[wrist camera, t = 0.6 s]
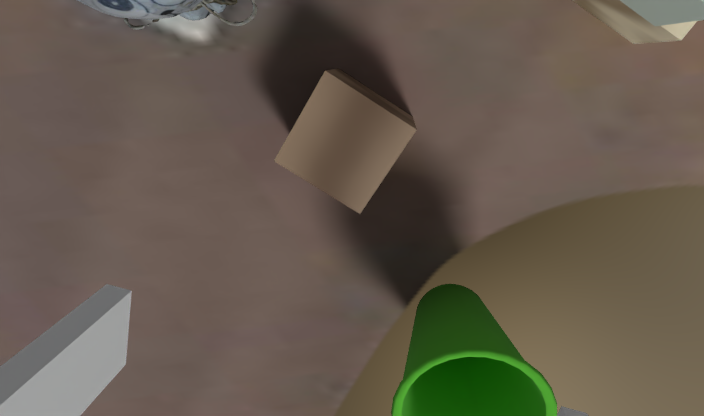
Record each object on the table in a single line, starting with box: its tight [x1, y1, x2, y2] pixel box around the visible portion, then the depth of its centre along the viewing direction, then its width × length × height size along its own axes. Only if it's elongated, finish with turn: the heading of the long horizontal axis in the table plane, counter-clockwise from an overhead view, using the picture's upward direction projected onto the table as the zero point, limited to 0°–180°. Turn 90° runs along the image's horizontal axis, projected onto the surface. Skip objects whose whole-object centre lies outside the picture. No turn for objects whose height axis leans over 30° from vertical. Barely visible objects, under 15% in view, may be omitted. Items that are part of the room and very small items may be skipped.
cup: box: [391, 284, 557, 416], centre depth 29 cm, size 9×9×11 cm
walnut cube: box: [274, 69, 417, 214], centre depth 28 cm, size 6×6×6 cm
